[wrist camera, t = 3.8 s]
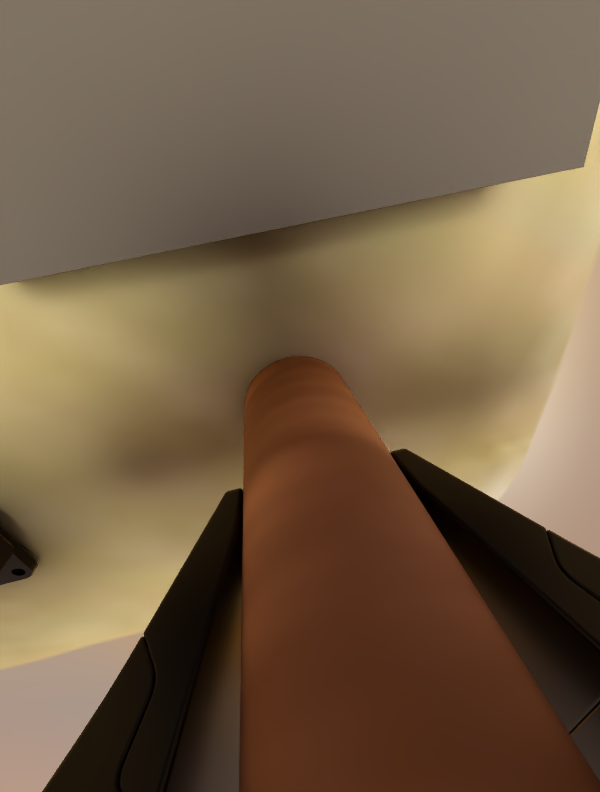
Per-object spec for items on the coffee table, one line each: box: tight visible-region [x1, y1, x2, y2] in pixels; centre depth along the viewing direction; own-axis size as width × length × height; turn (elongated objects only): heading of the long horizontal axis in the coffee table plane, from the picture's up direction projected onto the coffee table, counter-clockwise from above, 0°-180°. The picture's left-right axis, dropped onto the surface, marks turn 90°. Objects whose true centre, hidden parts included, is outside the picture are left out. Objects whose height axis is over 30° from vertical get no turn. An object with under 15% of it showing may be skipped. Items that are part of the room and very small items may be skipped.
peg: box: [239, 357, 600, 792], centre depth 7 cm, size 4×4×10 cm
